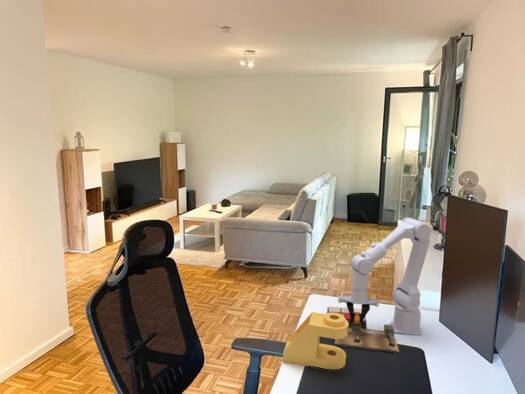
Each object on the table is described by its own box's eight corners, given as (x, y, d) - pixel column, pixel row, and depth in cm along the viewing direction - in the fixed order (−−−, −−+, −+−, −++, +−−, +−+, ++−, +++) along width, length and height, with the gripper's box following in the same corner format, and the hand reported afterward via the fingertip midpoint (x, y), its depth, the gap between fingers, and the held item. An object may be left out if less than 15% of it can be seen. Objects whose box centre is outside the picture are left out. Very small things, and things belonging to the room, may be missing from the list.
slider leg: (359, 329, 144) (360, 311, 143) (361, 341, 135) (363, 322, 134) (351, 328, 144) (352, 311, 143) (353, 340, 136) (354, 321, 135)
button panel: (327, 305, 160) (363, 307, 157) (327, 314, 160) (363, 317, 158) (327, 317, 149) (366, 319, 146) (327, 327, 150) (366, 330, 147)
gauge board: (391, 334, 144) (393, 323, 143) (398, 353, 131) (400, 341, 131) (333, 328, 147) (334, 317, 146) (334, 346, 134) (335, 334, 134)
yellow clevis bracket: (345, 357, 128) (349, 313, 126) (344, 373, 119) (348, 326, 117) (287, 347, 133) (290, 304, 130) (282, 361, 124) (285, 316, 122)
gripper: (377, 285, 142) (374, 318, 145) (338, 281, 144) (336, 314, 147) (380, 292, 135) (377, 327, 138) (339, 288, 138) (337, 323, 140)
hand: (356, 321), depth 142 cm, fingers closed on slider leg, 3 cm apart
